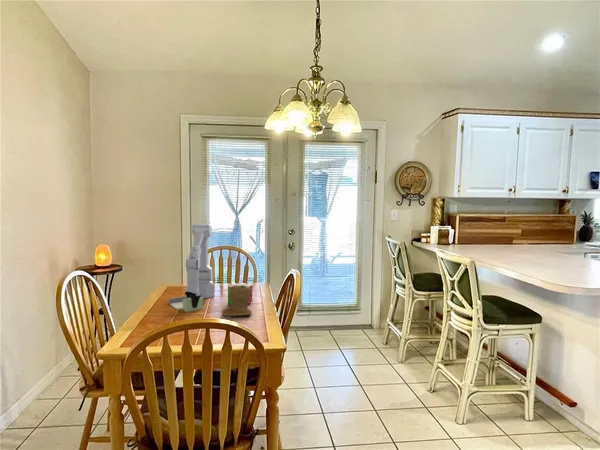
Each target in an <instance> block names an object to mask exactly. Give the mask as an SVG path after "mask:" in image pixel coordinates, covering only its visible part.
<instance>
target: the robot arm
mask: <svg viewBox="0 0 600 450" xmlns="http://www.w3.org/2000/svg"><path fill="white" fill-rule="evenodd" d="M191 233H192V236H193V237H194V238H193V245H192V246H191V247H190V250H189V254H188V258H186V260H185V269H186V270H185V271H186V275H187V276H186V280H187V281H186V286H185V289H184V291H185V292H184V294H185V296H186V297H187V298H190V297H191V301H192V307H193V308H196V307H197V305H198V301H199V299H200V297H202V298H203V299H207V298H212V297H215V283H214V281H213V277H214V276H213V275H214V274H213V267H211V266H210V265H209V264H208V261H209V260H208V256H209V255H208V250H209V249H208V244H209V243H208V242H209V239H210V238H212V224H210V223H193V224H192V226H191Z"/></svg>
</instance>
